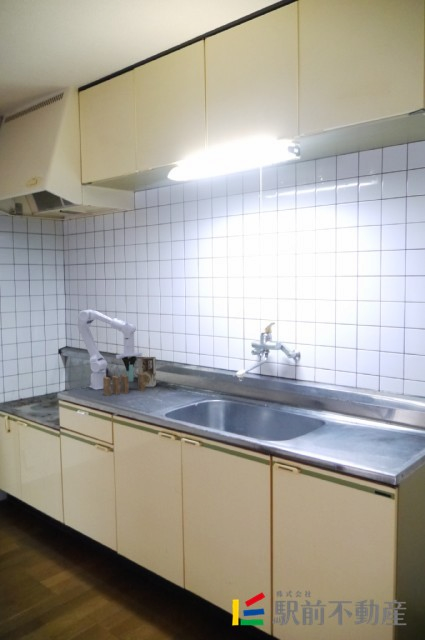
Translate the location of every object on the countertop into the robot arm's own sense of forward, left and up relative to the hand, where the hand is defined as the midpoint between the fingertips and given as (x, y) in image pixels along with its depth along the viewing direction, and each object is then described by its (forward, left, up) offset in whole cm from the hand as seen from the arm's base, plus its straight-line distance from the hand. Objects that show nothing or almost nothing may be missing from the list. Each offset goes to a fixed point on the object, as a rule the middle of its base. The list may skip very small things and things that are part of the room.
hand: (129, 370), depth 278 cm
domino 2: (+5, -10, -11) cm, 15 cm away
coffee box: (-4, +13, -11) cm, 17 cm away
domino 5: (+5, +5, -11) cm, 13 cm away
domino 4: (0, 0, -6) cm, 6 cm away
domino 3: (+5, -5, -11) cm, 13 cm away
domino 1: (+5, -15, -11) cm, 19 cm away
